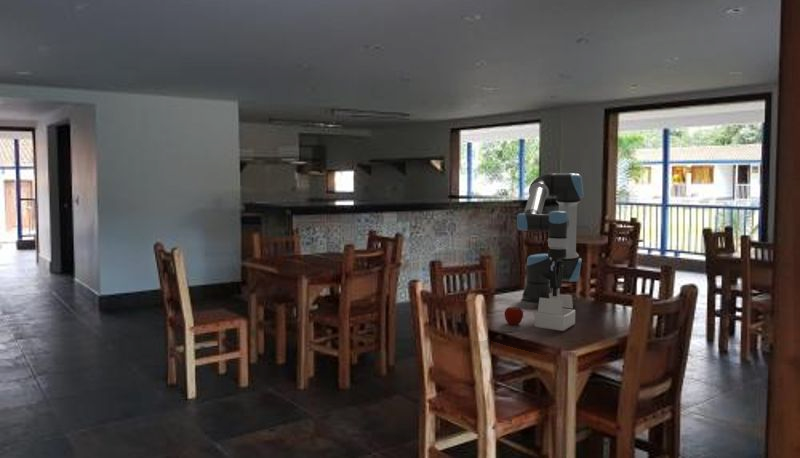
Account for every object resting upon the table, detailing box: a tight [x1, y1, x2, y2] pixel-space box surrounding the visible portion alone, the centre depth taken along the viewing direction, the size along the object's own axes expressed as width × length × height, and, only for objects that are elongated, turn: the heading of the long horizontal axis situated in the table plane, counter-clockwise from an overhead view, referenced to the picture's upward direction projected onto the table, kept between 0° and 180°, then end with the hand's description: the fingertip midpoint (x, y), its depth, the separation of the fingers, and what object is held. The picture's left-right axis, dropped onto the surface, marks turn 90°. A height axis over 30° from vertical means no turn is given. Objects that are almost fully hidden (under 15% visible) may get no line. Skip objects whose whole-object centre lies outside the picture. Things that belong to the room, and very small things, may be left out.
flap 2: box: [549, 293, 574, 309], centre depth 272 cm, size 6×10×1 cm
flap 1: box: [537, 298, 564, 315], centre depth 261 cm, size 6×10×1 cm
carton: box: [534, 307, 576, 332], centre depth 267 cm, size 15×13×6 cm
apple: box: [504, 306, 524, 326], centre depth 268 cm, size 8×8×8 cm
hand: (555, 303), depth 266 cm, fingers closed
